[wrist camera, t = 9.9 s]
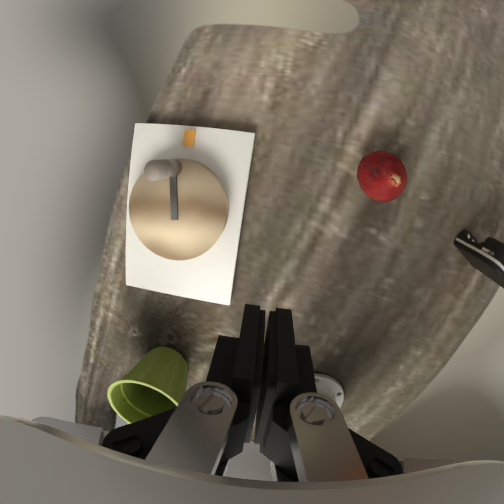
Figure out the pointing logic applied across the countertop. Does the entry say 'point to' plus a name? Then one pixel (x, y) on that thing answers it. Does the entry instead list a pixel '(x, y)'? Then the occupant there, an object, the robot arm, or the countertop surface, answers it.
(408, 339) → the countertop surface
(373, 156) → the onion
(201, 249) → the capstan dial
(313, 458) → the robot arm
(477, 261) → the battery charger
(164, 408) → the plant pot
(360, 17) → the countertop surface
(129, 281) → the stand
